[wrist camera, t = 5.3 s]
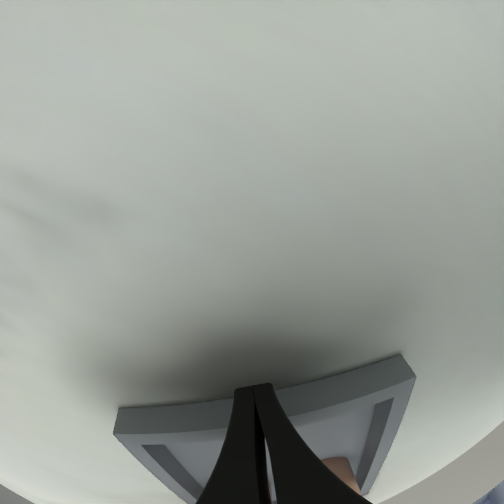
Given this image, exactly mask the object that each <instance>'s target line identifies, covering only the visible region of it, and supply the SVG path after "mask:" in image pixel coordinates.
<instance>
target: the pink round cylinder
mask: <svg viewBox="0 0 504 504" xmlns="http://www.w3.org/2000/svg"><path fill="white" fill-rule="evenodd" d="M321 461H322V462H323V463H324V464H325V465H326V466H327V467H328V468H329V469H330V470H331V471H332V472H333V473H334V474H335V475H336V476H337V477H338V478H340V479H341V480H342V481H343V482H344V483H345V484H346V485H348V486H349V487H350V488H351V489H353V490H354V491H355V492H357V493H358V494H359V495H361V493H360V490H359V487H358V484H357V482H356V479H355V476H354V473H353V471H352V468H351V465H350V462H349V460H348V459H347V458H345V457H334V458H328V459H324V460H321ZM361 496H362V495H361Z"/></svg>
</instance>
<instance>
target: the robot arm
mask: <svg viewBox="0 0 504 504" xmlns="http://www.w3.org/2000/svg"><path fill="white" fill-rule="evenodd" d="M253 389H254V390H253ZM265 439H266V443H267V447H268V451H269V455H270V461H271V468H272V474H273V480H274V486H275V493H276V499H277V504H372V503H371V502H369V501H368V500H366V499H365V498H364V497H362V496H361V495H359V494H358V493H357V492H355V491H354V490H353V489H351V488H350V487H349V486H348V485H346V484H345V483H344V482H343V481H342V480H341V479H340V478H338V477H337V476H336V475H335V474H334V473H333V472H332V471H331V470H330V469H329V468H328V467H327V466H326V465H325V464H324V463H323V462H322V461H321V460H320V459H319V458H318V457H317V456H316V455H315V454H314V452H313V451H312V450H311V449H310V448H309V447H308V445H307V444H306V443H305V442H304V440H303V439H302V438H301V436H300V435H299V434H298V432H297V431H296V429H295V428H294V426H293V425H292V423H291V422H290V420H289V419H288V417H287V416H286V414H285V412H284V410H283V409H282V407H281V405H280V403H279V401H278V399H277V397H276V394H275V392H274V389H273V385H272V384H271V383H264V384H259V385H254V386H249V387H243V388H237V389H236V390H235V391H234V402H233V408H232V413H231V418H230V422H229V426H228V429H227V433H226V437H225V440H224V443H223V446H222V449H221V452H220V455H219V457H218V460H217V462H216V465H215V467H214V469H213V472H212V474H211V476H210V478H209V480H208V482H207V484H206V486H205V488H204V490H203V491H202V493H201V495H200V497H199V498H198V500H197V502H196V503H195V504H272V502H271V497H270V492H269V484H268V473H267V459H266V446H265ZM473 504H504V481H502V482H501V483H500V484H498V485H497V486H496V487H495V488H493V489H492V490H491V491H490V492H488V493H487V494H486V495H485V496H483V497H482V498H480V499H479V500H477V501H476V502H475V503H473Z"/></svg>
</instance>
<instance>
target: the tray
mask: <svg viewBox="0 0 504 504" xmlns="http://www.w3.org/2000/svg"><path fill="white" fill-rule="evenodd" d="M415 379H416V375H415V374H414V372H413V371H412V369H411V368H410V366H409V365H408V363H407V362H406V361H405V359H404V358H403V356H402V355H401V354H400V355H397V356H394V357H391V358H389V359H386V360H383V361H380V362H377V363H374V364H371V365H368V366H365V367H361V368H358V369H355V370H352V371H348V372H345V373H342V374H338V375H335V376H331V377H327V378H324V379H320V380H316V381H312V382H308V383H304V384H300V385H295V386H291V387H287V388H282V389H277V390H274V392H275V394H276V397H277V399H278V401H279V403H280V405H281V407H282V409H283V410H284V412H285V414H286V416H287V417H288V419H289V420H290V422H291V423H292V425H293V426H294V428H295V429H296V431H297V432H298V434H299V435H300V436H301V438H302V439H303V440H304V442H305V443H306V444H307V445H308V447H309V448H310V449H311V450H312V451H313V452H314V454H315V455H316V456H317V457H318V458H319V459H320V460H324V459H328V458H334V457H345V458H347V459H348V460H349V462H350V465H351V468H352V471H353V473H354V476H355V479H356V482H357V484H358V487H359V490H360V493H361V495H362V496H364V495H366V494H368V493H369V491H370V489H371V487H372V485H373V483H374V481H375V479H376V477H377V475H378V473H379V471H380V469H381V467H382V465H383V463H384V461H385V459H386V457H387V454H388V452H389V450H390V447H391V445H392V443H393V440H394V438H395V436H396V433H397V431H398V428H399V426H400V423H401V420H402V418H403V415H404V412H405V410H406V407H407V404H408V401H409V398H410V395H411V392H412V389H413V386H414V383H415ZM233 402H234V398H228V399H221V400H214V401H206V402H198V403H189V404H179V405H168V406H154V407H135V408H119V410H118V414H117V418H116V422H115V426H114V431H113V435H114V436H115V437H116V438H117V439H118V440H119V441H120V442H121V443H122V444H123V445H124V447H125V448H126V449H127V450H128V451H129V452H130V453H131V454H132V455H133V456H134V457H135V458H136V459H137V460H138V461H139V462H140V463H141V464H142V465H143V466H144V467H146V468H147V469H148V470H149V471H150V472H151V473H152V474H153V475H154V476H155V477H156V478H157V479H159V480H160V481H161V482H162V483H163V484H164V485H165V486H167V487H168V488H169V489H170V490H171V491H172V492H174V493H175V494H176V495H177V496H179V497H180V498H181V499H182V500H184V501H185V502H186V503H187V504H195V503H196V502H197V500H198V498H199V497H200V495H201V493H202V491H203V490H204V488H205V486H206V484H207V482H208V480H209V478H210V476H211V474H212V472H213V469H214V467H215V465H216V462H217V460H218V457H219V455H220V452H221V449H222V446H223V443H224V440H225V437H226V433H227V429H228V426H229V422H230V418H231V413H232V408H233ZM265 446H266V459H267V473H268V481H269V482H270V483H271V491H272V504H277V499H276V493H275V486H274V480H273V474H272V468H271V461H270V455H269V451H268V447H267V443H266V439H265Z"/></svg>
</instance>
